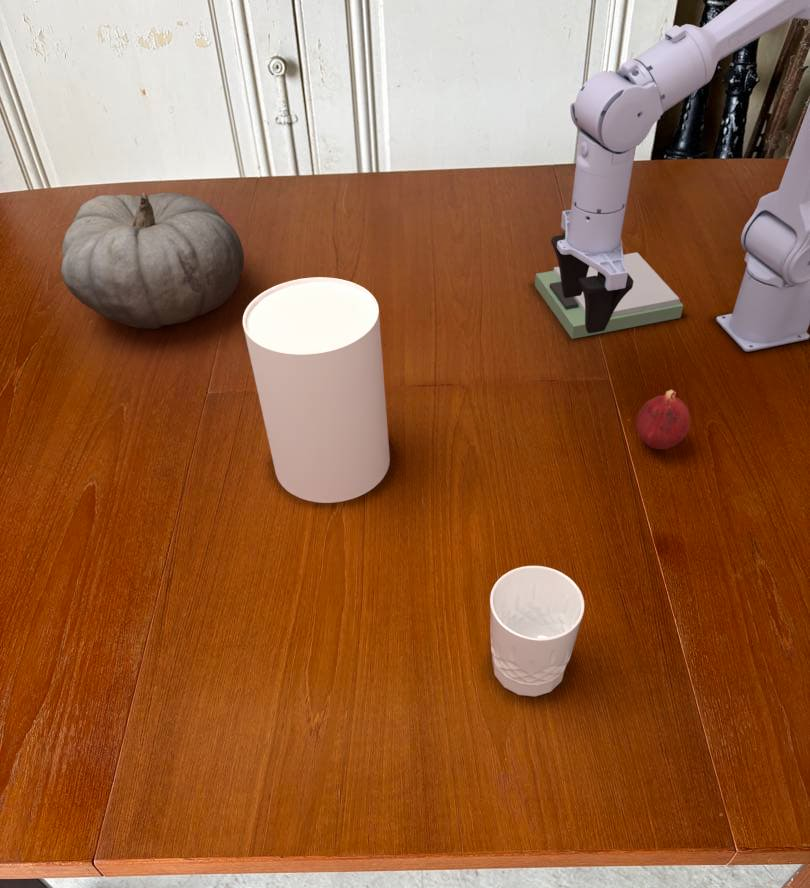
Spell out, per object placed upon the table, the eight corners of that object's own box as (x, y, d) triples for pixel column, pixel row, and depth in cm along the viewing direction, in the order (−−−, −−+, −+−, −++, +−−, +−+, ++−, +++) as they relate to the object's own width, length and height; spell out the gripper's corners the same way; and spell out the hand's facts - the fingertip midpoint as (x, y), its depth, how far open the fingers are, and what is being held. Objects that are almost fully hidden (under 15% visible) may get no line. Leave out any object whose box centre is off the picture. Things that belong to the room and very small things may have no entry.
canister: (301, 518, 90) (272, 370, 75) (258, 447, 98) (224, 301, 83) (409, 476, 94) (402, 327, 79) (359, 410, 102) (344, 264, 87)
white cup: (480, 635, 79) (483, 569, 71) (561, 627, 79) (572, 561, 71) (493, 706, 73) (498, 644, 66) (579, 698, 74) (594, 635, 66)
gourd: (121, 366, 105) (79, 229, 95) (51, 317, 121) (8, 195, 111) (282, 309, 117) (261, 182, 107) (199, 271, 133) (173, 157, 123)
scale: (635, 267, 121) (638, 249, 119) (680, 317, 112) (684, 300, 110) (534, 286, 119) (536, 268, 117) (572, 339, 110) (574, 321, 108)
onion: (682, 466, 93) (698, 411, 87) (631, 461, 94) (643, 406, 88) (681, 433, 97) (697, 378, 91) (632, 428, 97) (644, 373, 91)
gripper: (540, 176, 91) (531, 285, 101) (588, 239, 81) (573, 353, 91) (600, 168, 91) (585, 277, 102) (654, 229, 82) (632, 342, 92)
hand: (583, 312), depth 97 cm, fingers open, 7 cm apart
